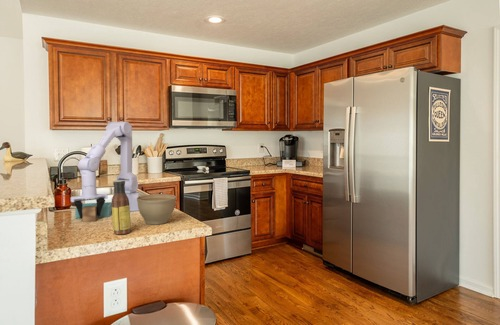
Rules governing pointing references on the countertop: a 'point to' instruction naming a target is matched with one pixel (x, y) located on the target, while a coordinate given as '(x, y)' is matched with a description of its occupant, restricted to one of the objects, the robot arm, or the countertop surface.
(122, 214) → the sauce bottle
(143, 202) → the planter bowl
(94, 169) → the robot arm
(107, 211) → the teal bin
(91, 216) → the walnut block
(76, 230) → the countertop surface
